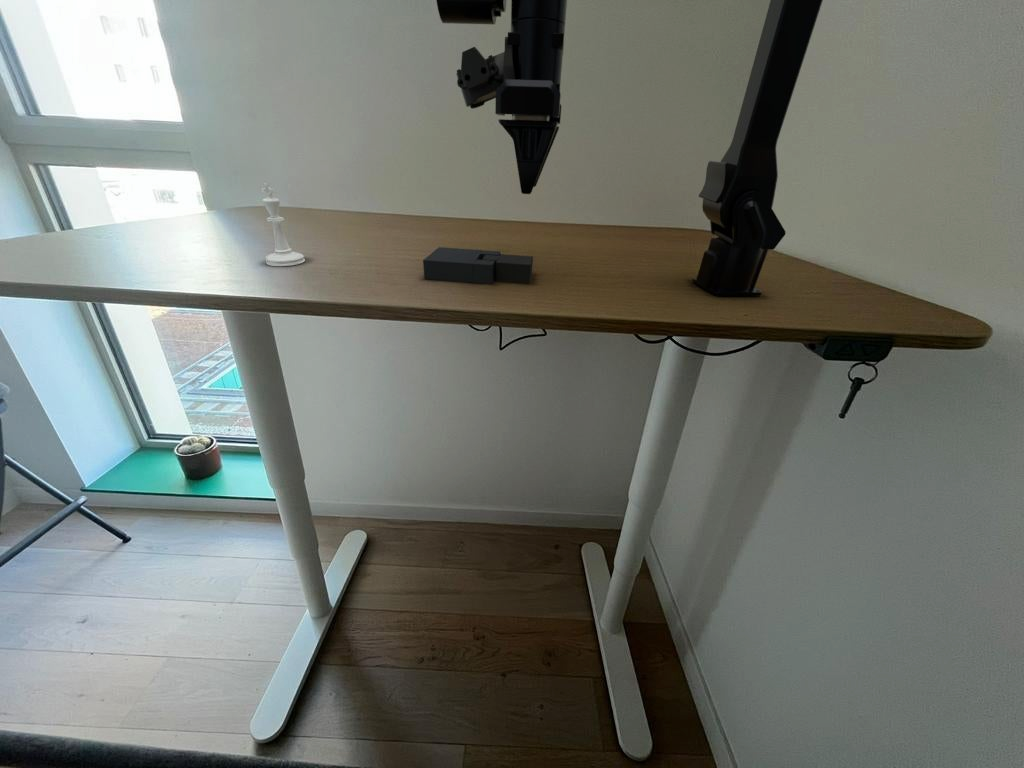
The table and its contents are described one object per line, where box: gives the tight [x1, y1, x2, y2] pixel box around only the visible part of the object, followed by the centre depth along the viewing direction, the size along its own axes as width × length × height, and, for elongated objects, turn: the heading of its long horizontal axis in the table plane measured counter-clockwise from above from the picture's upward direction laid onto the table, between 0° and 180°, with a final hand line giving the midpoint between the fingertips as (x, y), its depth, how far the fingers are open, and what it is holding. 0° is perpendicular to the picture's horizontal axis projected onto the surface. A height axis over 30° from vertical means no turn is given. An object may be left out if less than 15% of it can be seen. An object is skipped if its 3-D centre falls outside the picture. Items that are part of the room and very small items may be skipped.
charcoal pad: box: [422, 246, 502, 285], centre depth 54 cm, size 9×8×2 cm
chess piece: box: [260, 182, 306, 267], centre depth 54 cm, size 5×5×10 cm
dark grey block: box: [482, 253, 534, 285], centre depth 54 cm, size 6×4×2 cm
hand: (529, 189), depth 50 cm, fingers open, 9 cm apart
